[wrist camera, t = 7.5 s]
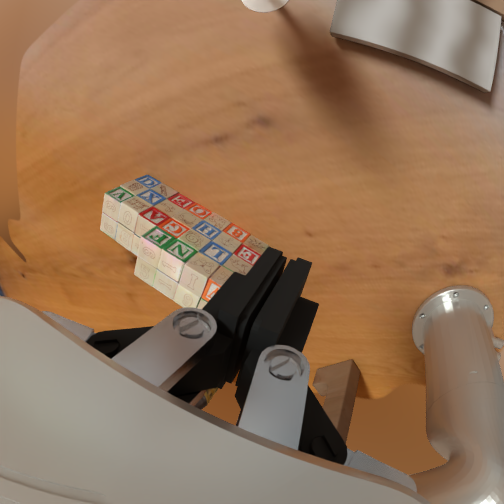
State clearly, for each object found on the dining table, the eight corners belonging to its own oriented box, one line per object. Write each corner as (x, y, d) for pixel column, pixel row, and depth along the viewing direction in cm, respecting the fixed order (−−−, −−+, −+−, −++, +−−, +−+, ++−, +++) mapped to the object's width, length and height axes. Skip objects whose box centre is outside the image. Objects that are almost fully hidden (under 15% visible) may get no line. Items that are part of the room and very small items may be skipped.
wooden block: (352, 358, 46) (334, 437, 33) (360, 371, 46) (344, 449, 34) (317, 368, 49) (291, 442, 37) (326, 380, 50) (303, 453, 37)
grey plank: (495, 20, 19) (501, 16, 17) (484, 92, 24) (490, 91, 22) (347, -33, 23) (345, -40, 21) (331, 36, 28) (329, 31, 26)
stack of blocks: (139, 207, 48) (83, 237, 38) (147, 173, 45) (87, 198, 35) (253, 278, 46) (215, 330, 36) (271, 245, 43) (234, 295, 32)
